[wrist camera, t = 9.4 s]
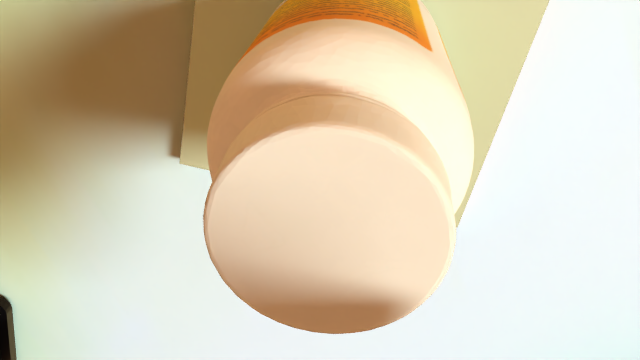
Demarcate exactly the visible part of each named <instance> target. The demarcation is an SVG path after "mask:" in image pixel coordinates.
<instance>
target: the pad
mask: <svg viewBox="0 0 640 360" xmlns="http://www.w3.org/2000/svg"><path fill="white" fill-rule="evenodd" d="M282 1H283V0H195V8H194V19H193V29H192V39H191V50H190V60H189V71H188V81H187V91H186V102H185V112H184V122H183V133H182V143H181V153H180V164H184V165H188V166H193V167H197V168H201V169H206V170H209V165H208V157H207V134H208V127H209V122H210V117H211V114H212V110H213V107H214V105H215V102H216V100H217V97H218V95H219V93H220V91H221V89H222V87H223V85H224V83H225V81H226V79H227V78H228V76H229V75H230V73H231V72H232V70H233V69H234V67H235V66H236V64H237V63H238V62H239V60H240V59H241V58H242V56H243V55H244V54H245V52H246V51H247V49H248V48H249V47H250V45H251V44H252V42H253V41H254V39H255V38H256V37H257V35H258V34H259V33H260V31H261V30H262V28H263V27H264V25H265V24H266V23H267V21H268V20H269V18H270V17H271V15H272V14H273V13H274V11H275V10H276V8H277V7H278V6H279V4H280V3H281V2H282ZM421 1H422V2H423V4H424V5H425V6H426V8H427V9H428V11H429V12H430V14H431V16H432V18H433V20H434V22H435V23H436V25H437V28H438V30H439V32H440V35H441V38H442V41H443V43H444V46H445V49H446V51H447V54H448V57H449V60H450V62H451V65H452V68H453V70H454V73H455V75H456V78H457V81H458V83H459V85H460V88H461V91H462V93H463V96H464V99H465V101H466V105H467V108H468V111H469V115H470V120H471V125H472V130H473V137H474V161H473V170H472V174H471V178H470V182H469V186H468V188H467V191H466V194H465V196H464V199H463V201H462V203H461V205H460V206H459V208H458V210H457V211H456V213H455V214H454V216H455V223H456V227H458V224H459V222H460V219H461V217H462V214H463V212H464V209H465V207H466V205H467V202H468V200H469V197H470V195H471V192H472V190H473V187H474V185H475V182H476V180H477V177H478V175H479V172H480V170H481V168H482V165H483V163H484V160H485V158H486V155H487V153H488V150H489V148H490V145H491V143H492V140H493V138H494V136H495V133H496V131H497V128H498V126H499V123H500V121H501V118H502V116H503V113H504V111H505V108H506V106H507V104H508V101H509V99H510V96H511V94H512V91H513V89H514V86H515V84H516V81H517V79H518V76H519V74H520V72H521V69H522V67H523V64H524V62H525V59H526V57H527V54H528V52H529V49H530V47H531V44H532V42H533V39H534V37H535V35H536V32H537V30H538V27H539V25H540V22H541V20H542V17H543V15H544V12H545V10H546V7H547V5H548V3H549V0H421Z"/></svg>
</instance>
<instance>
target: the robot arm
mask: <svg viewBox="0 0 640 360" xmlns="http://www.w3.org/2000/svg"><path fill="white" fill-rule="evenodd" d="M0 360H16V348H15V337H14V325H13V313H12V306H11V304H10V303H9V302H8V301H7V300H6V299H4V298H2V297H0Z"/></svg>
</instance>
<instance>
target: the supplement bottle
mask: <svg viewBox="0 0 640 360" xmlns="http://www.w3.org/2000/svg"><path fill="white" fill-rule="evenodd" d="M207 157H208V165H209V170H210V174H211V178H212V184H211V186H210V189H209V192H208V195H207V198H206V202H205V208H204V215H203V219H204V235H205V241H206V245H207V249H208V252H209V255H210V258H211V260H212V262H213V264H214V266H215V267H216V269H217V271H218V273H219V274H220V276H221V278H222V279H223V281H224V282H225V283H226V284H227V285H228V286H229V287H230V289H231V290H232V291H233V292H234V293H235V294H236V295H237V296H238V297H239V298H240V299H242V300H243V301H244V302H245V303H247V304H248V305H249V306H250V307H252V308H253V309H255V310H256V311H258V312H259V313H261V314H262V315H265V316H267V317H269V318H271V319H273V320H275V321H277V322H279V323H282V324H285V325H288V326H291V327H294V328H298V329H302V330H307V331H311V332H318V333H328V334H343V333H355V332H362V331H367V330H372V329H375V328H378V327H382V326H385V325H387V324H390V323H392V322H394V321H396V320H398V319H400V318H402V317H404V316H406V315H408V314H409V313H411V312H412V311H414V310H415V309H416V308H418V307H419V306H420V305H421V304H422V303H424V302H425V301H426V300H427V299H428V298H429V297H430V296H431V295H432V293H433V292H434V291H435V290H436V289H437V287H438V286H439V285H440V283H441V281H442V280H443V278H444V276H445V274H446V273H447V270H448V268H449V266H450V263H451V260H452V257H453V252H454V248H455V242H456V223H455V216H454V214H455V213H456V211H457V210H458V208H459V206H460V205H461V203H462V201H463V199H464V196H465V194H466V191H467V188H468V186H469V182H470V178H471V174H472V170H473V161H474V137H473V130H472V125H471V120H470V115H469V111H468V108H467V105H466V101H465V99H464V96H463V93H462V91H461V88H460V85H459V83H458V81H457V78H456V75H455V73H454V70H453V68H452V65H451V62H450V60H449V57H448V54H447V51H446V49H445V46H444V43H443V41H442V38H441V35H440V32H439V30H438V28H437V25H436V23H435V22H434V20H433V18H432V16H431V14H430V12H429V11H428V9H427V8H426V6H425V5H424V4H423V2H422V1H421V0H283V1H282V2H281V3H280V4H279V6H278V7H277V8H276V10H275V11H274V13H273V14H272V15H271V17H270V18H269V20H268V21H267V23H266V24H265V25H264V27H263V28H262V30H261V31H260V33H259V34H258V35H257V37H256V38H255V39H254V41H253V42H252V44H251V45H250V47H249V48H248V49H247V51H246V52H245V54H244V55H243V56H242V58H241V59H240V60H239V62H238V63H237V64H236V66H235V67H234V69H233V70H232V72H231V73H230V75H229V76H228V78H227V79H226V81H225V83H224V85H223V87H222V89H221V91H220V93H219V95H218V97H217V100H216V102H215V105H214V107H213V110H212V114H211V117H210V122H209V127H208V134H207Z"/></svg>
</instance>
